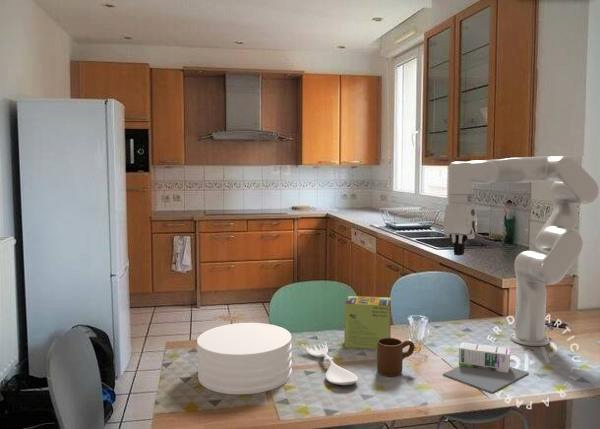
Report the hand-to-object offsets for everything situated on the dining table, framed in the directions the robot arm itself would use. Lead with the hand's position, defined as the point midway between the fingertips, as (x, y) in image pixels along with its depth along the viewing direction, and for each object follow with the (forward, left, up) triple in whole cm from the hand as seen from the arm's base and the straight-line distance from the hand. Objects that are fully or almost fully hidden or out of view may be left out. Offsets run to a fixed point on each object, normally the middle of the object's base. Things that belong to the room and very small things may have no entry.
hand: (458, 254), depth 173 cm
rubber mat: (+12, +18, -32) cm, 39 cm away
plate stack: (+66, -29, -32) cm, 79 cm away
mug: (+30, -1, -32) cm, 44 cm away
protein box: (+19, -23, -32) cm, 44 cm away
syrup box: (+11, +8, -29) cm, 32 cm away
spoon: (+44, -16, -33) cm, 57 cm away
